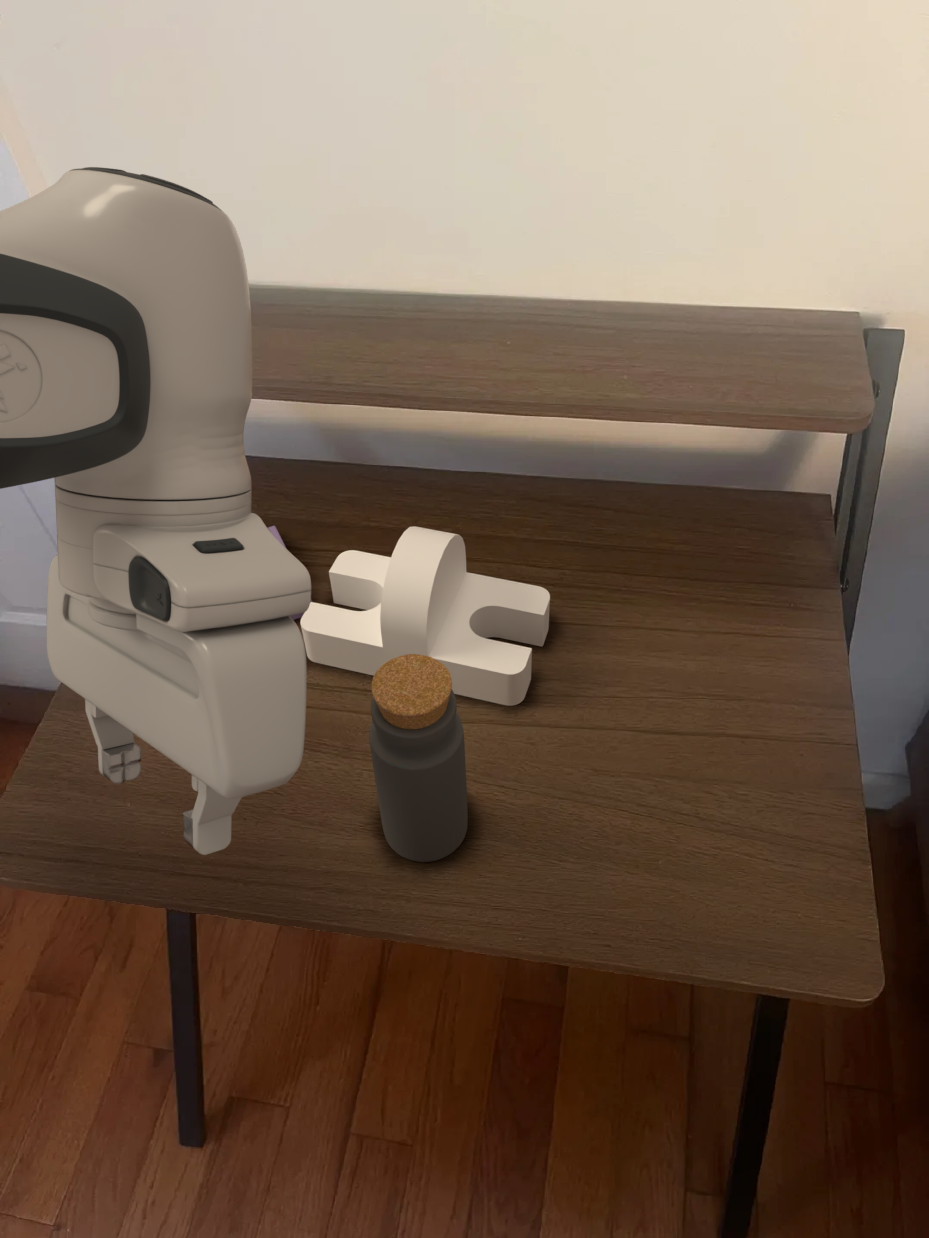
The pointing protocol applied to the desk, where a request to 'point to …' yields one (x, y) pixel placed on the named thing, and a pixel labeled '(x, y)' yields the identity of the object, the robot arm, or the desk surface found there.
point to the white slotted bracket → (430, 616)
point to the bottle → (418, 758)
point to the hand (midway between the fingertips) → (161, 809)
